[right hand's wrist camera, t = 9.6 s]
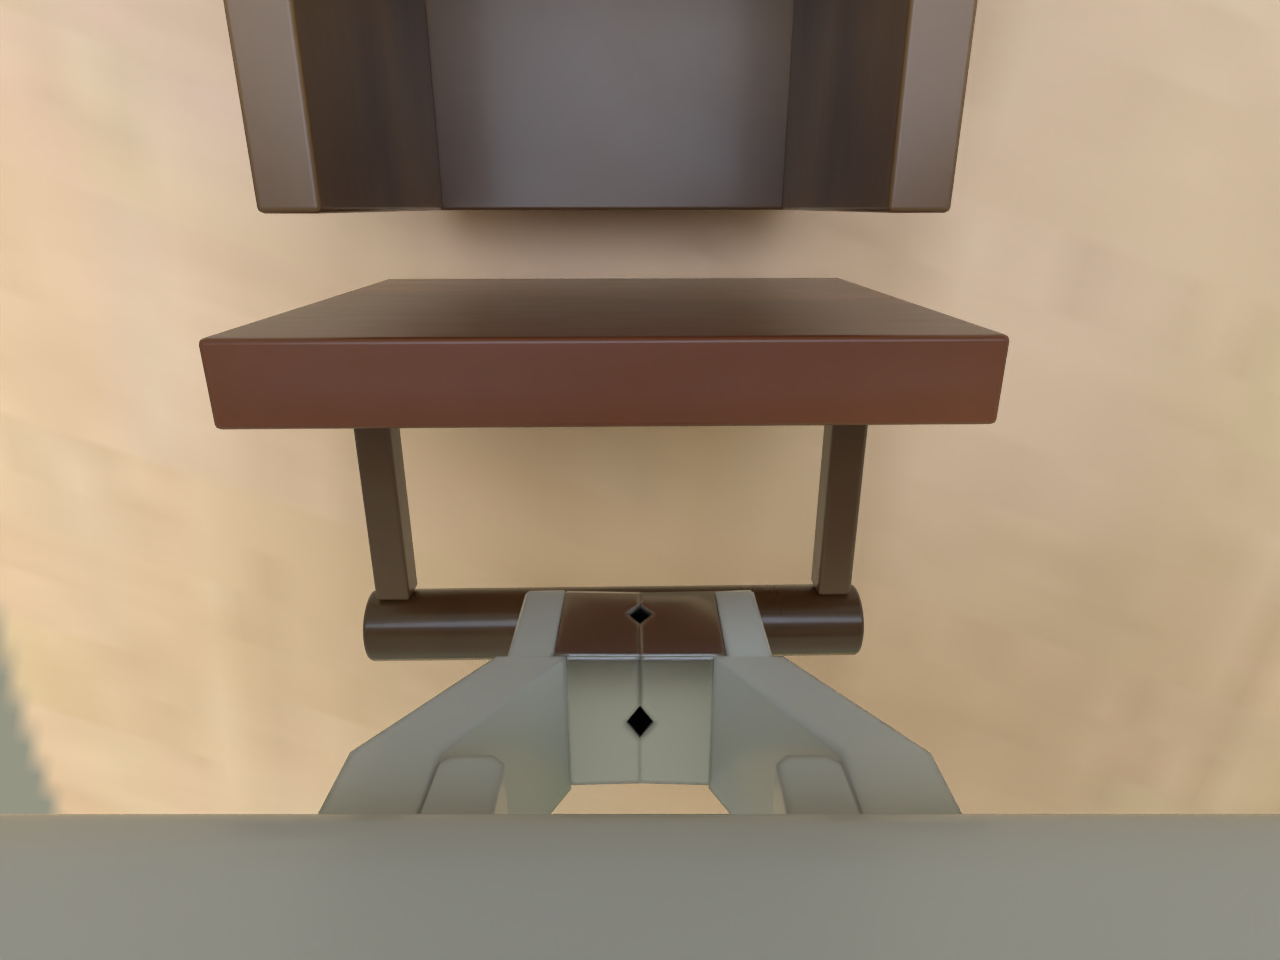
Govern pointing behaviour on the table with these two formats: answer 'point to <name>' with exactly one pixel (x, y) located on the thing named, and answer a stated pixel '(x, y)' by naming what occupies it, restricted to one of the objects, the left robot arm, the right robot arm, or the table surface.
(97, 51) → the table surface
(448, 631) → the drawer
